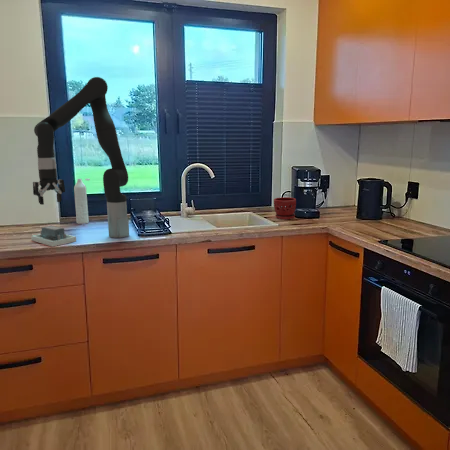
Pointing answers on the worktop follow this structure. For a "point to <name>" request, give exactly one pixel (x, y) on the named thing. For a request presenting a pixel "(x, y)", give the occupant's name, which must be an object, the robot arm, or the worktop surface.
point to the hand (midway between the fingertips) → (50, 203)
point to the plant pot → (280, 207)
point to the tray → (51, 242)
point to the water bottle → (81, 202)
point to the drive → (52, 232)
